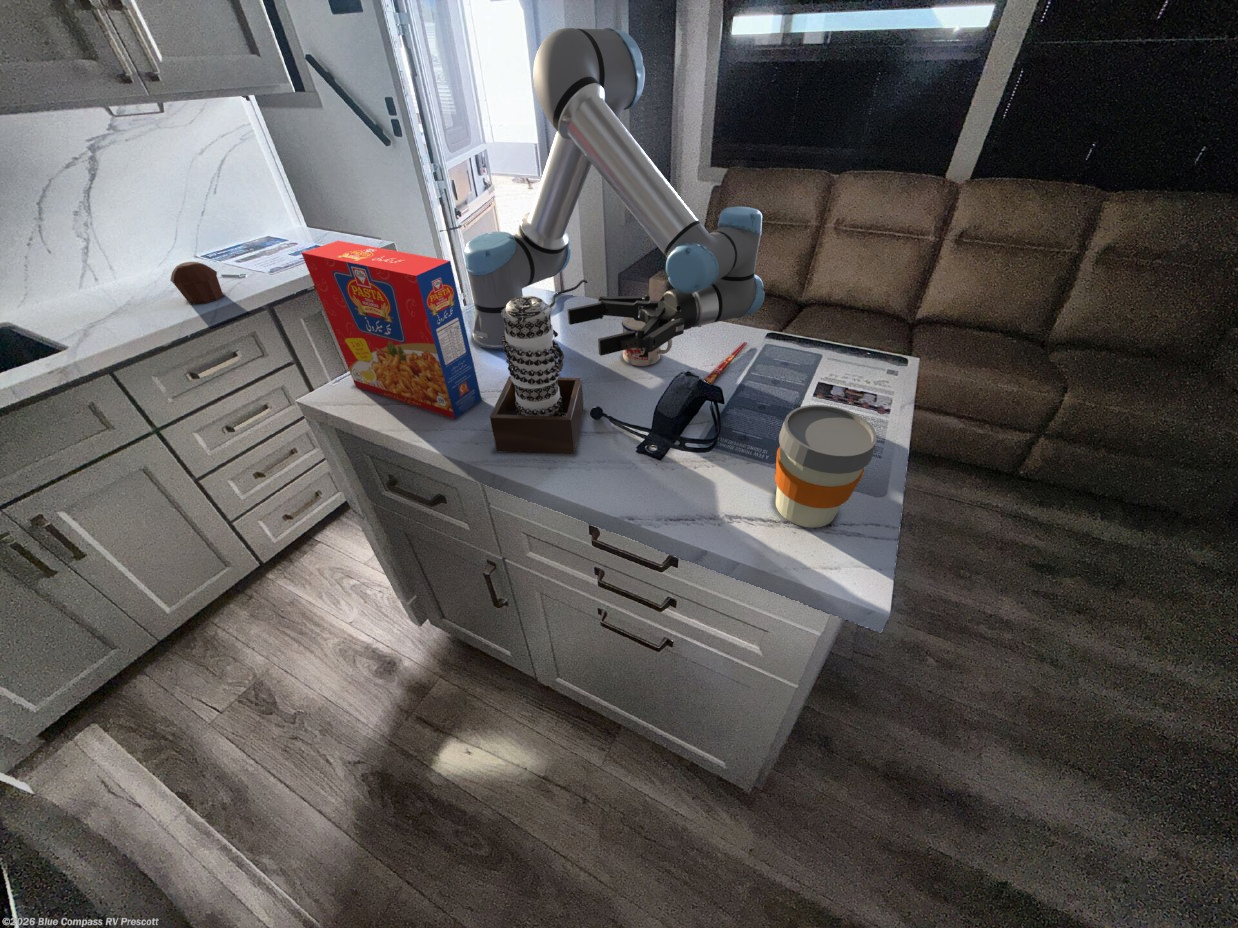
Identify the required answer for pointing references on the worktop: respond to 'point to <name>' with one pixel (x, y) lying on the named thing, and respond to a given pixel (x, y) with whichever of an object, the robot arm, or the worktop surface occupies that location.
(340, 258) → the pasta box
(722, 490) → the worktop surface
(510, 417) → the walnut box
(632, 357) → the teacup with lid
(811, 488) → the reusable coffee cup
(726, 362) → the chopstick
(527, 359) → the patterned vase
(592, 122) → the robot arm
